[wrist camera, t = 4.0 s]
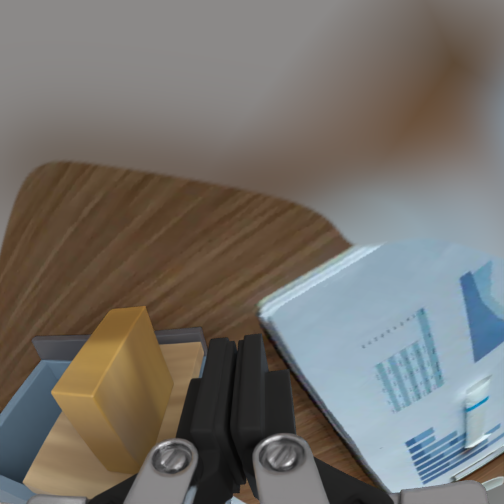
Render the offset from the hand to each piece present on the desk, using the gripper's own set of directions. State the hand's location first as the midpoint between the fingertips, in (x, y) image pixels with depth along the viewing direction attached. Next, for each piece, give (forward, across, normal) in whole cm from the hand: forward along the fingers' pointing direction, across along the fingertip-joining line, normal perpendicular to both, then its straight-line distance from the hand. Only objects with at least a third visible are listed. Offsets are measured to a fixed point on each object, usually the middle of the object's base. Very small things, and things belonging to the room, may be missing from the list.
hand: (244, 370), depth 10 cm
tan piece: (+5, +6, 0) cm, 8 cm away
